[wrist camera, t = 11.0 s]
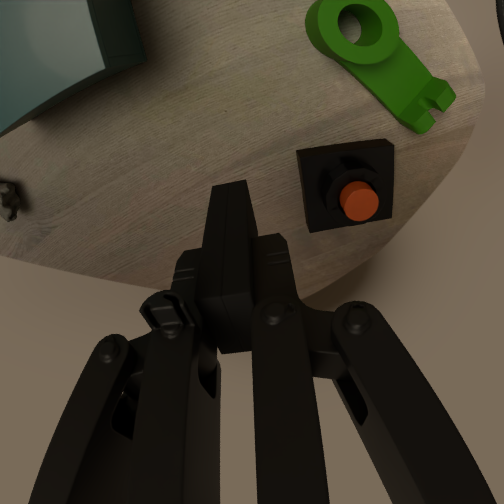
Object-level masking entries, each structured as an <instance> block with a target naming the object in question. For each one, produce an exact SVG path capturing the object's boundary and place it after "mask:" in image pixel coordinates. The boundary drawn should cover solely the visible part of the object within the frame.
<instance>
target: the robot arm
mask: <svg viewBox="0 0 504 504" xmlns="http://www.w3.org/2000/svg"><path fill="white" fill-rule="evenodd" d="M139 311H140V313H141V314H142V316H143V317H144V319H145V320H146V322H147V323H148V325H149V326H150V327H151V329H152V331H151V332H149V333H147V334H146V335H143V336H141V337H138V338H135V339H133V340H130V341H128V340H127V339H126V338H125V337H124V336H122V335H120V334H111V335H109V336H106V337H104V338H103V339H102V340H101V341H99V343H98V344H97V345H96V347H95V348H94V350H93V352H92V354H91V356H90V358H89V360H88V362H87V364H86V365H85V367H84V369H83V371H82V373H81V375H80V378H79V379H78V382H77V384H76V386H75V388H74V390H73V392H72V394H71V396H70V398H69V401H68V403H67V405H66V407H65V409H64V411H63V414H62V416H61V418H60V420H59V423H58V425H57V427H56V430H55V432H54V434H53V437H52V439H51V442H50V444H49V447H48V449H47V452H46V454H45V457H44V459H43V462H42V465H41V467H40V470H39V473H38V476H37V479H36V482H35V484H34V487H33V490H32V493H31V497H30V500H29V503H28V504H220V396H221V368H220V363H219V361H218V360H217V347H218V348H219V350H220V352H221V354H229V353H238V352H247V351H252V373H253V401H254V428H255V453H256V478H257V503H258V504H330V502H329V493H328V484H327V476H326V467H325V460H324V451H323V444H322V436H321V429H320V422H319V415H318V409H317V402H316V395H315V389H314V382H313V377H320V378H327V379H332V381H333V383H334V385H335V387H336V389H337V391H338V393H339V395H340V397H341V399H342V401H343V403H344V405H345V407H346V409H347V411H348V413H349V415H350V417H351V419H352V421H353V423H354V425H355V427H356V429H357V431H358V433H359V435H360V437H361V439H362V441H363V443H364V445H365V448H366V450H367V452H368V454H369V456H370V458H371V460H372V462H373V464H374V466H375V468H376V470H377V472H378V474H379V476H380V478H381V480H382V483H383V485H384V487H385V489H386V491H387V493H388V495H389V497H390V499H391V501H392V503H393V504H497V503H496V501H495V499H494V497H493V495H492V493H491V490H490V488H489V486H488V484H487V483H486V480H485V479H484V477H483V475H482V473H481V471H480V469H479V467H478V465H477V463H476V461H475V460H474V458H473V456H472V454H471V452H470V451H469V449H468V447H467V445H466V443H465V442H464V440H463V438H462V436H461V435H460V433H459V431H458V429H457V428H456V426H455V424H454V423H453V421H452V419H451V418H450V416H449V414H448V413H447V411H446V410H445V408H444V406H443V405H442V403H441V401H440V400H439V398H438V397H437V395H436V393H435V392H434V390H433V389H432V387H431V386H430V384H429V382H428V381H427V379H426V378H425V377H424V375H423V373H422V372H421V371H420V369H419V367H418V366H417V365H416V363H415V361H414V360H413V358H412V357H411V355H410V354H409V352H408V351H407V350H406V348H405V347H404V346H403V344H402V342H401V341H400V339H399V338H398V337H397V335H396V334H395V332H394V331H393V330H392V328H391V327H390V325H389V324H388V323H387V321H386V320H385V318H384V317H383V316H382V314H381V313H380V312H379V310H377V309H376V308H375V307H374V306H373V305H371V304H369V303H366V302H363V301H352V302H347V303H344V304H343V305H341V306H340V307H338V308H337V309H336V310H335V312H330V311H320V310H315V309H312V308H310V307H308V306H306V305H305V304H304V303H302V301H301V300H300V299H299V297H298V294H297V290H296V285H295V280H294V275H293V270H292V265H291V260H290V255H289V250H288V245H287V241H286V240H285V239H284V238H283V237H282V235H281V234H280V233H276V234H270V235H264V236H258V230H257V226H256V221H255V217H254V212H253V208H252V204H251V199H250V195H249V190H248V186H247V182H246V180H241V181H236V182H231V183H226V184H221V185H216V186H212V191H211V196H210V202H209V207H208V213H207V218H206V224H205V230H204V236H203V242H202V248H197V249H191V250H186V251H184V252H183V253H182V255H181V256H180V257H179V259H178V260H177V263H176V267H175V273H174V276H173V282H172V284H171V289H170V290H163V291H160V292H156V293H155V294H153V295H151V296H150V297H148V298H147V299H146V301H144V303H143V304H142V306H141V308H140V310H139ZM122 392H123V394H122Z"/></svg>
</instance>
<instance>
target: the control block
mask: <svg viewBox="0 0 504 504" xmlns="http://www.w3.org/2000/svg"><path fill="white" fill-rule="evenodd" d="M296 154H297V160H298V167H299V174H300V181H301V188H302V195H303V202H304V210H305V218H306V223H307V226H308V229H309V232H310V233H313V232H318V231H324V230H329V229H334V228H340V227H345V226H355V225H360V224H365V223H367V222H372V221H378V220H383V219H389V218H392V206H393V187H394V145H393V144H392V143H391V142H389V141H388V140H387V139H375V140H366V141H357V142H349V143H342V144H334V145H327V146H320V147H314V148H308V149H301V150H296ZM354 181H363V182H365V183H367V184H368V185H369V186H370V187H371V188H372V189H373V191H374V192H375V193H376V195H377V196H378V200H379V203H378V208H377V210H376V212H375V213H374V214H373V215H372V216H371V217H370V218H368V219H366V220H363V221H354V220H352V219H350V218H349V217H348V216H347V215H346V213H345V212H344V210H343V208H342V206H341V204H340V194H341V191H342V190H343V188H344V187H345V186H346V185H348V184H349V183H351V182H354Z"/></svg>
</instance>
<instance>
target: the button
mask: <svg viewBox="0 0 504 504" xmlns="http://www.w3.org/2000/svg"><path fill="white" fill-rule="evenodd" d="M378 203H379V200H378V196H377V195H376V193H375V192H374V191H373V189H372V188H371V187H370V186H369V185H368V184H367V183H365V182H363V181H354V182H351V183H349V184H348V185H346V186H345V187H344V188H343V190H342V191H341V194H340V204H341V206H342V208H343V210H344V212H345V213H346V215H347V216H348V217H349V218H350V219H352V220H354V221H363V220H366V219H368V218H370V217H371V216H372V215H373V214H374V213H375V212H376V210H377V208H378Z"/></svg>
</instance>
